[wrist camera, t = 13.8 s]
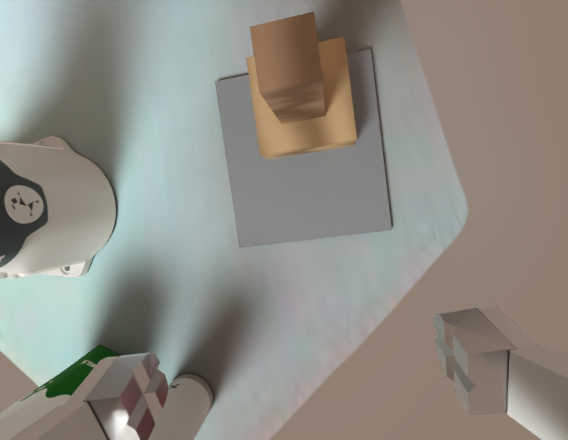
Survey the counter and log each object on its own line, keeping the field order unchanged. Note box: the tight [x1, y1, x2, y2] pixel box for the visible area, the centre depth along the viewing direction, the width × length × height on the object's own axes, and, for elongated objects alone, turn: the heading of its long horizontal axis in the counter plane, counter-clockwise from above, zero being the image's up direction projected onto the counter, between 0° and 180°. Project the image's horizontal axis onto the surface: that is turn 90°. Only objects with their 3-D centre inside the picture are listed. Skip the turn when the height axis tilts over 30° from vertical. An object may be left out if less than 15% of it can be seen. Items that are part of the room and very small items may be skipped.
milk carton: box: [0, 345, 120, 440], centre depth 33 cm, size 9×9×20 cm
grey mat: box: [215, 49, 392, 247], centre depth 36 cm, size 18×20×1 cm
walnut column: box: [250, 12, 325, 124], centre depth 26 cm, size 4×4×10 cm
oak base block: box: [246, 36, 357, 159], centre depth 33 cm, size 10×10×4 cm
